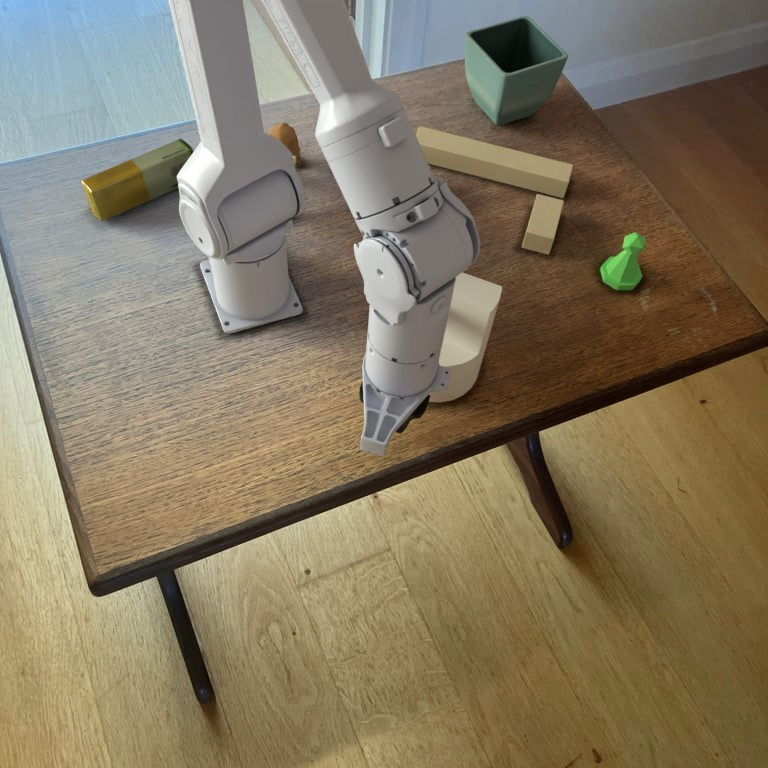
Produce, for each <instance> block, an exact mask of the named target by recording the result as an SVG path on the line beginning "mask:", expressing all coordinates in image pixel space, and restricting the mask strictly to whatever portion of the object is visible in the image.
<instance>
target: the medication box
mask: <svg viewBox="0 0 768 768" xmlns="http://www.w3.org/2000/svg"><path fill="white" fill-rule="evenodd" d="M194 151H195V150H194V148H193V147H192V146H191V145H190V144H189V143H188V142H187V141H186V140H184V139H182V138H178V139H175V140H173V141H170V142H169V143H166V144H164V145H161V146H159V147H157V148H155V149H153V150H150V151H148V152H145V153H143V154H140V155H138V156H136V157H133V158H130V159H129V160H127V161H124V162H122V163H119V164H117V165H115V166H112V167H110V168H107V169H105V170H102V171H100V172H98V173H96V174H93V175H91V176H88V177H86V178H84V179H82V180H81V181H80V183H81V187H82V189H83V191H84V192H83V193H84V195H85V197H86V200H87V202H88V206H89V207H88V209H89V212H91V213H92V214H93V216H94V217H95V218H96V219H98V221H100V222H104V221H106V220H109V219H111V218H113V217H115V216H118V215H121V214H122V213H125V212H127V211H129V210H131V209H134V208H137V207H138V206H141V205H143V204H145V203H147V202H150V201H152V200H154V199H156V198H158V197H160V196H163V195H166V194H168V193H170V192H173V191H174V190H177V189H179V188H178V180H177V175H178V173H179V172H180V170H181V169H182V167H183V166H184V164H185V163H186V162H187V160H188V159H189V158H190V156H191V155H192V153H193V152H194Z"/></svg>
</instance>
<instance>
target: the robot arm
mask: <svg viewBox="0 0 768 768" xmlns="http://www.w3.org/2000/svg"><path fill="white" fill-rule="evenodd" d="M167 1H168V5H169V9H170V13H171V18H172V22H173V27H174V31H175V36H176V39H177V43H178V48H179V52H180V56H181V57H180V58H181V61H182V65H183V70H184V74H185V78H186V82H187V87H188V91H189V95H190V99H191V105H192V108H193V112H194V116H195V121H196V126H197V130H198V133H199V139H200V141H199V143H198V144H197V147H196V148H195V149H194V150H193V151H194V152H193V153H192V155H191V156H190V158H189V159H188V160H187V162H186V163H185V164H184V166H183V167H182V169H181V170H180V172H179V173H178V175H177V180H178V188H177V189H178V193H179V203H178V212H179V216H180V219H181V222H182V225H183V227H184V229H185V232H187V235H188V236H189V237H190V239H191V241H192V242H193V244H194V245H195V246H196V247H197V248H198V249H199V251H200V252H201V253H203V254H204V255H206V256H207V257H208V259H206V260H202V261H200V263H199V267H200V271H201V273H202V276H203V279H204V281H205V283H206V287H207V289H208V292H209V295H210V297H211V300H212V303H213V306H214V309H215V311H216V314H217V316H218V319H219V322H220V325H221V328H222V330H223V332H224V333H225V334H227V335H229V334H234V333H237V332H240V331H244V330H248V329H252V328H255V327H259V326H263V325H267V324H270V323H274V322H277V321H281V320H285V319H289V318H292V317H295V316H299V315H302V314H303V311H304V309H303V305H302V303H301V301H300V299H299V296H298V294H297V291H296V289H295V287H294V285H293V282H292V280H291V278H290V276H289V262H288V247H287V234H288V232H289V231H290V230H292V229H293V218H297V217H298V216H300V215H301V214H302V213H303V212H304V210H305V203H306V202H305V200H306V196H305V195H306V194H305V188H304V185H303V182H302V180H301V178H300V176H299V174H298V171H297V169H296V166H295V165H294V161H293V156H292V153H291V152H290V151H289V149H288V148H287V147H286V146H285V145H284V144H283V143H282V142H281V141H280V140H278V139H277V138H276V137H274V136H272V135H271V134H269V132H265V130H264V123H263V118H262V110H261V105H260V98H259V92H258V86H257V81H256V73H255V68H254V61H253V56H252V49H251V43H250V37H249V30H248V24H247V18H246V12H245V6H244V0H167ZM260 1H261V2H262V4H263V6H264V8H265V9H266V12H267V13H268V16H269V17H270V18H271V21H272V22H273V24H274V26H275V28H276V29H277V31H278V33H279V35H280V36H281V39H282V40H283V41H284V43H285V45H286V47H287V48H288V50H289V52H290V54H291V55H292V58H293V59H294V61H295V64H296V65H297V66H298V69H299V70H300V72H301V73H302V75H303V77H304V79H305V81H306V83H307V85H308V86H309V88H310V90H311V91H312V93H313V95H314V97H315V98H316V100H317V102H318V104H319V113H318V117H317V123H316V127H315V131H314V136H315V139H316V141H317V143H318V146H319V147H320V150H321V152H322V154H323V156H324V158H325V160H326V162H327V164H328V167H329V168H330V170H331V172H332V175H333V177H334V179H335V181H336V183H337V186H338V187H339V190H340V192H341V194H342V195H343V198H344V200H345V202H346V204H347V207H348V208H349V211H350V213H351V215H352V217H353V219H354V221H355V224H356V225H357V227H358V230H359V232H360V234H361V235H362V240H360V241H359V242H357V243H353V252H354V257H355V261H356V262H355V263H356V265H357V267H358V269H359V272H360V274H361V277H362V280H363V295H365V299H366V302H367V303H368V304H369V309H368V322H367V323H368V324H367V335H366V346H365V354H364V356H363V359H362V365H361V366H362V369H361V371H362V373H361V374H362V380H361V384H360V385H359V392H358V397H359V400H360V402H361V403H362V404H363V417H364V421H363V422H364V423H363V424H364V425H363V429H362V433H361V437H360V445H359V446H360V448H359V450H360V451H363V452H365V453H368V454H371V455H376V456H379V457H383V458H385V457H386V455H387V452H388V449H389V443H390V441H391V439H392V437H393V435H395V433H397V434H403V433H404V431H406V429H407V427H408V426H409V424H410V423H411V421H413V420H417V419H421V418H422V416H424V414H425V413H426V410H427V408H428V405H429V403H430V402H429V399H430V395H428V394H429V393H431V392H438V393H444V392H446V390H447V388H448V385H449V382H450V378H451V371H450V370H449V369H447V368H444V367H442V366H440V365H439V358H440V353H441V348H442V343H443V339H444V334H445V329H446V325H447V320H448V315H449V310H450V305H451V300H452V295H453V291H454V286H455V281H456V276H458V275H459V274H461V273H462V272H463V273H465V271H467V270H468V269H469V268H470V266H472V265H474V264H475V263H476V261H478V259H479V256H480V254H481V253H480V252H481V239H480V235H479V231H478V229H477V226H476V222H475V218H474V217H473V214H472V213H471V212H470V210H469V209H468V208H467V206H466V205H465V204H464V202H463V201H462V200H461V199H460V198H459V197H457V196H456V195H455V193H453V192H452V191H451V189H450V188H449V185H448V183H447V182H446V181H444V179H443V177H441V176H439V177H434V174H433V171H432V169H431V168H430V167H429V166H430V164H428V163H427V160H426V158H425V156H424V153H423V151H422V149H421V146H420V144H419V142H418V139H417V137H416V133H415V130H414V128H413V126H412V123H411V121H410V119H409V116H408V114H407V112H406V109H405V107H404V105H403V103H402V100H401V98H400V95H399V94H398V93H397V92H395V91H393V90H391V89H389V88H387V87H385V86H384V85H381V84H379V83H378V82H376V81H375V80H373V78H372V75H371V73H370V70H369V68H368V64H367V62H366V58H365V55H364V53H363V51H362V50H363V49H362V48H361V44H360V41H359V39H358V36H357V33H356V31H355V27H354V25H353V21H352V18H351V16H350V13H349V10H348V7H347V4H346V1H345V0H260Z"/></svg>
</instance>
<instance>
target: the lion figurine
mask: <svg viewBox="0 0 768 768" xmlns="http://www.w3.org/2000/svg"><path fill="white" fill-rule="evenodd" d="M268 133H269V134H271V135H272V136H274V137H276V138H277V139H278V140H280V141H281V142H282V143H283V144H284V145H285V146H286V147H287V148H288V149H289V151H290V152H291V153H292V156H293V161H294V165H295V167H300V166H301V165H302V164H303V161H302V157H301V150H302V149H301V148H300V144H299V139H298V136H297V132H296V129H295V128H294V127H292V126H290V125H289V123H288V122H282V123H278V124H275V125H273V126H272V127H271V128H270V129H269V131H268Z"/></svg>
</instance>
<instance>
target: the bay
mask: <svg viewBox="0 0 768 768" xmlns="http://www.w3.org/2000/svg"><path fill="white" fill-rule="evenodd" d="M415 135H416V137H417V139H418V142H419V144H420V146H421V149H422V151H423V153H424V156H425V158H426V160H427V163H428V165H429V167H430V169H431V168H432V167H431V166H430V165H432V166H436V167H440V168H444V169H448V170H451V171H456V172H459V173H463V174H467V175H470V176H475V177H477V178H478V177H479V178H483V179H487V180H490V181H494V182H498V183H501V184H505V185H509V186H514V187H518V188H522V189H525V190H529V191H533V192H537V194H536V196H535V200H534V203H533V206H532V209H531V213H530V216H529V221H528V224H527V227H526V229H525V230H526V231H525V234H524V237H523V241H522V245H521V248H522V249H525V250H528V251H532V252H535V253H539V254H544V255H550V252H551V250H552V247H553V244H554V241H555V237H556V233H557V231H558V226H559V222H560V218H561V214H562V210H563V207H564V202H565V201H564V200H563V199H564V198H565V195H566V192H567V189H568V187H569V184H570V180H571V175H572V172H573V169H574V164H572V163H568V162H565V161H560V160H556V159H552V158H548V157H545V156H540V155H538V154H537V155H536V154H533V153H528V152H525V151H521V150H517V149H513V148H508V147H506V146H505V147H504V146H501V145H498V144H493V143H488V142H484V141H481V140H477V139H473V138H469V137H464V136H462V135H461V136H460V135H457V134H453V133H449V132H445V131H442V130H437V129H433V128H429V127H426V126H421V125H419V126H418V128H417V131H416V133H415ZM539 193H541V194H539ZM544 194H545V195H544ZM547 195H548V196H547ZM551 196H552V197H551Z"/></svg>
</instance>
